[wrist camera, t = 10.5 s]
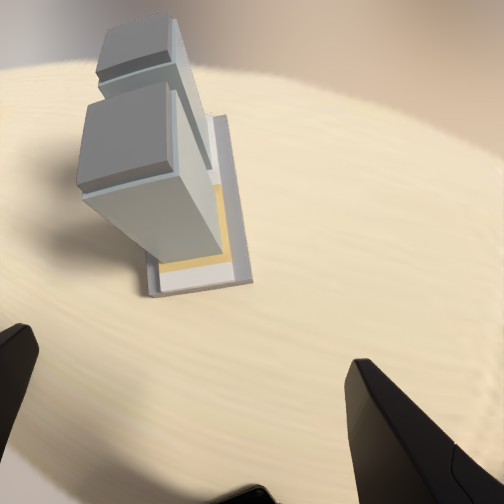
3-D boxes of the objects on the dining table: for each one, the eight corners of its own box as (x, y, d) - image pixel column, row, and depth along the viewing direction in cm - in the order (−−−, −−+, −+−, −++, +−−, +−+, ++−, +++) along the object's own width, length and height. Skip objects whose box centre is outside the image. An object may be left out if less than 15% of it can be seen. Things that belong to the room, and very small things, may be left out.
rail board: (253, 282, 22) (251, 277, 20) (156, 297, 22) (145, 293, 20) (228, 124, 26) (225, 109, 24) (149, 141, 26) (141, 128, 24)
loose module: (223, 253, 21) (173, 164, 10) (164, 263, 21) (71, 190, 10) (215, 192, 22) (171, 76, 11) (160, 203, 22) (84, 103, 11)
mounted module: (212, 169, 22) (171, 50, 12) (159, 180, 22) (91, 76, 12) (207, 122, 24) (173, 7, 13) (158, 133, 24) (104, 29, 13)
